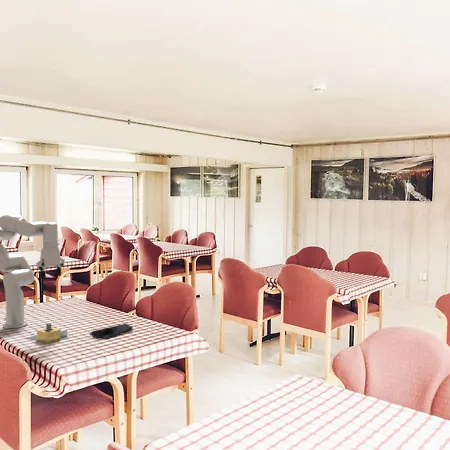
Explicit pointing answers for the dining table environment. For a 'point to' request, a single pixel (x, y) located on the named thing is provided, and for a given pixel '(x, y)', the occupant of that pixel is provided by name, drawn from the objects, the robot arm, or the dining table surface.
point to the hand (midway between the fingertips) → (51, 276)
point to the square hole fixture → (50, 335)
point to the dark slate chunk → (111, 331)
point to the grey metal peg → (48, 327)
